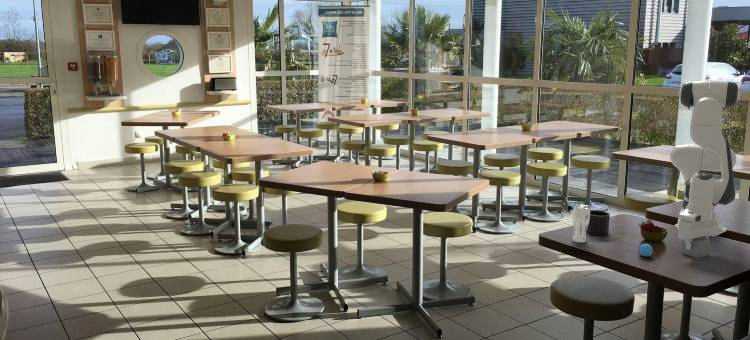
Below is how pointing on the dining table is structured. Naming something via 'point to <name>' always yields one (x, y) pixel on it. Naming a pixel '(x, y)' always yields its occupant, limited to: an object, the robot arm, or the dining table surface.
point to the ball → (645, 250)
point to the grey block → (697, 247)
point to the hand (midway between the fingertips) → (695, 247)
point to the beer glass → (580, 223)
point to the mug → (598, 223)
